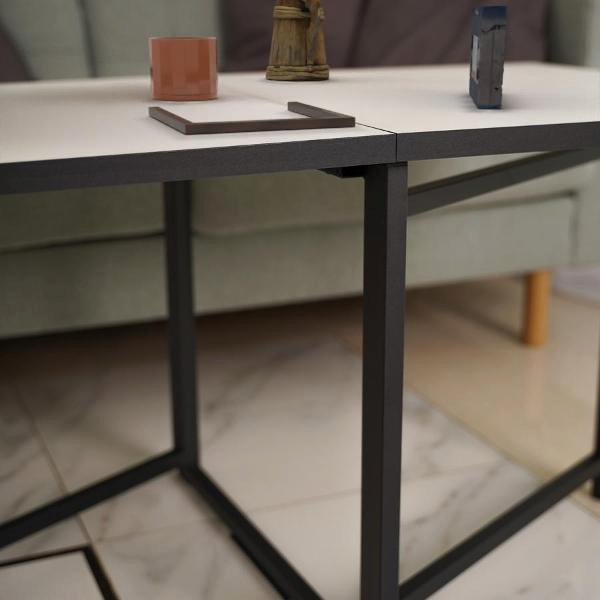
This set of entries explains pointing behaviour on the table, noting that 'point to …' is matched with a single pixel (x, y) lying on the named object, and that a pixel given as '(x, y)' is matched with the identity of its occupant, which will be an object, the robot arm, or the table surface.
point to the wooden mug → (298, 42)
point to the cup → (183, 68)
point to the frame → (258, 121)
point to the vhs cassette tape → (487, 55)
